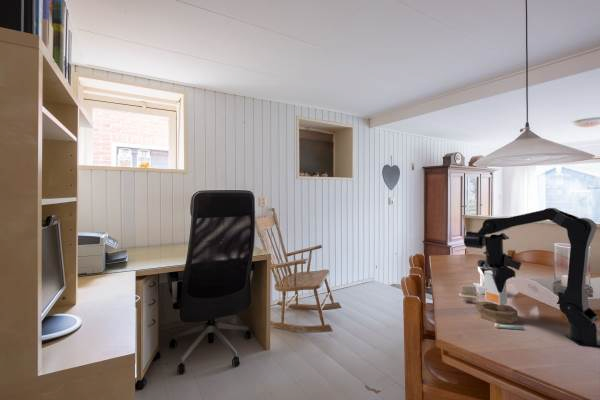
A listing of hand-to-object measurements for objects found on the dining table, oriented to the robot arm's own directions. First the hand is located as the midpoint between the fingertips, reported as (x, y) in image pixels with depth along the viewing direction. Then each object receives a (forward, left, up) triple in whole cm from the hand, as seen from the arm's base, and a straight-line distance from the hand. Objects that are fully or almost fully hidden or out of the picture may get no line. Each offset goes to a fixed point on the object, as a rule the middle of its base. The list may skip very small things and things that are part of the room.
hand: (495, 289), depth 111 cm
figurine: (+31, -7, -11) cm, 34 cm away
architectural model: (+16, +4, -11) cm, 20 cm away
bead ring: (0, 0, -11) cm, 11 cm away
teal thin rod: (-11, 0, -11) cm, 15 cm away
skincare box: (0, 0, -5) cm, 5 cm away
